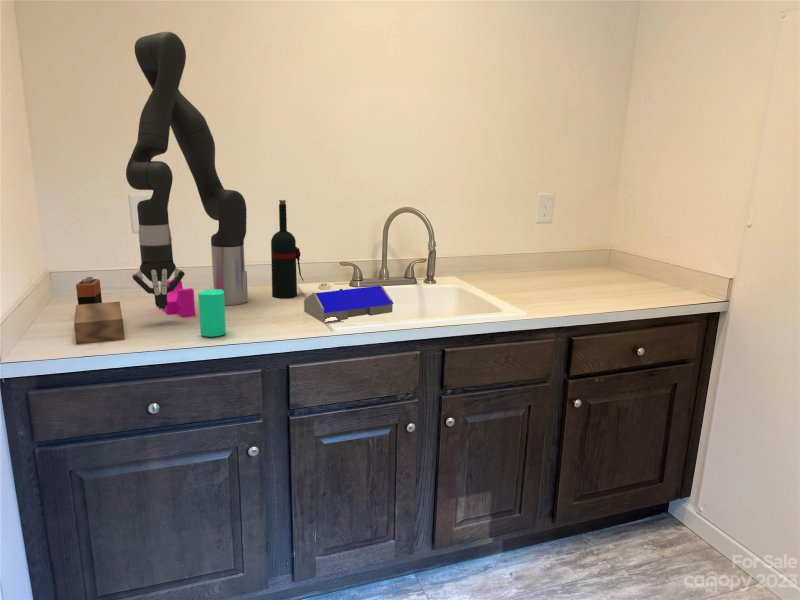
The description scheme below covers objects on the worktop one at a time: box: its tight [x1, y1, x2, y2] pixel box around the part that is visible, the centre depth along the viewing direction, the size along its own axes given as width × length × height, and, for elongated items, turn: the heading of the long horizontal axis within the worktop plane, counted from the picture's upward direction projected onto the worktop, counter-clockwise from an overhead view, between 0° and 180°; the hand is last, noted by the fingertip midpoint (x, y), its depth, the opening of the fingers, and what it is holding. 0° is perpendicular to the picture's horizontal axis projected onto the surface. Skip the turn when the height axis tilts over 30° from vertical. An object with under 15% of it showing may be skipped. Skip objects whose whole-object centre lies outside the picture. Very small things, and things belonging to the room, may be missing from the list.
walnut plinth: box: [73, 301, 125, 345], centre depth 143 cm, size 10×18×5 cm, turn 27°
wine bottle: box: [270, 199, 305, 300], centre depth 180 cm, size 8×10×30 cm
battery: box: [75, 276, 103, 305], centre depth 157 cm, size 4×7×10 cm, turn 13°
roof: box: [303, 284, 394, 324], centre depth 166 cm, size 22×14×7 cm, turn 123°
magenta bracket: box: [159, 279, 196, 318], centre depth 163 cm, size 15×6×8 cm, turn 34°
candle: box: [197, 288, 227, 337], centre depth 143 cm, size 6×6×12 cm
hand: (161, 307), depth 151 cm, fingers closed
